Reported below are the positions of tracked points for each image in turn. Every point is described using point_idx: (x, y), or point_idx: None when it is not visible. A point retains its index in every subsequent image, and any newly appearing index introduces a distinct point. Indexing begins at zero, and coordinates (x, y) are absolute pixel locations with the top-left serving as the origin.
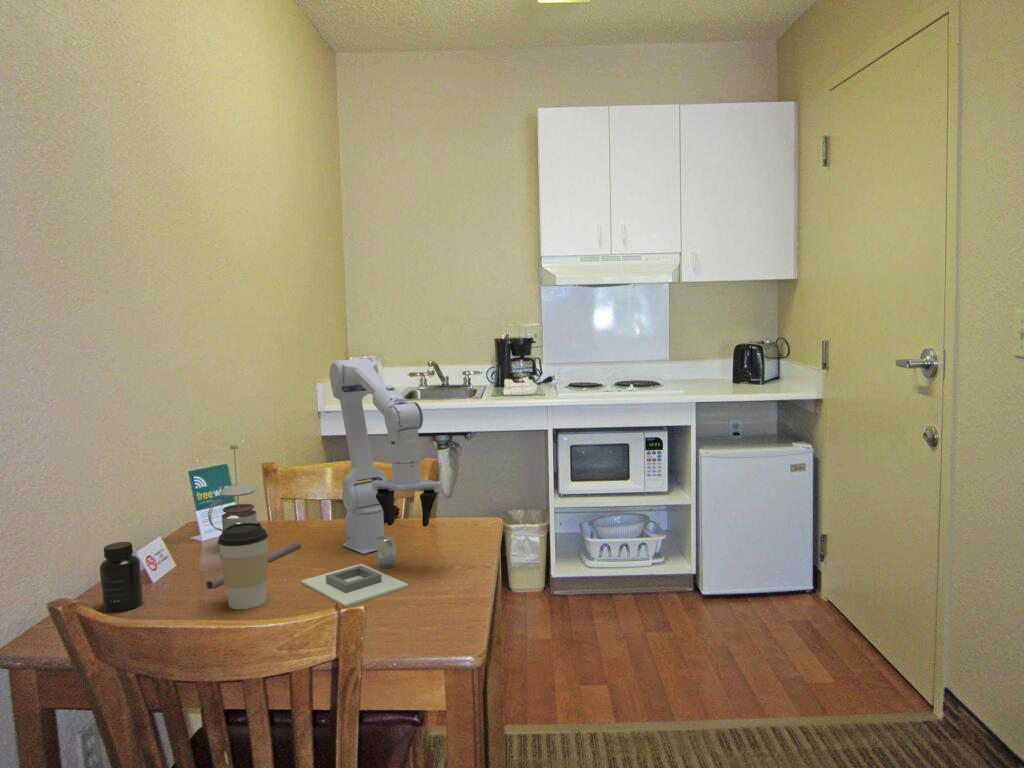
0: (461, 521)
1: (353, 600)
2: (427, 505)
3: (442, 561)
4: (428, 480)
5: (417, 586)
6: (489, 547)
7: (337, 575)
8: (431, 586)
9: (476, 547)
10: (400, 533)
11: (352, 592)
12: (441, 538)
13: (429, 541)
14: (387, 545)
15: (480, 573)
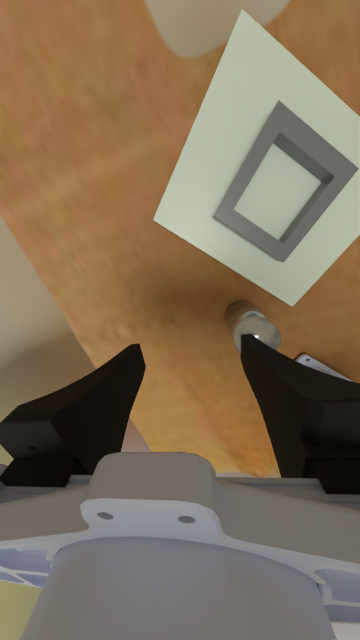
0: None
1: (230, 57)
2: (71, 384)
3: (158, 347)
4: (40, 587)
5: (138, 228)
6: None
7: (325, 186)
8: (114, 235)
9: (139, 400)
10: None
11: (254, 124)
12: (202, 421)
13: (214, 411)
14: (244, 321)
15: (74, 313)
